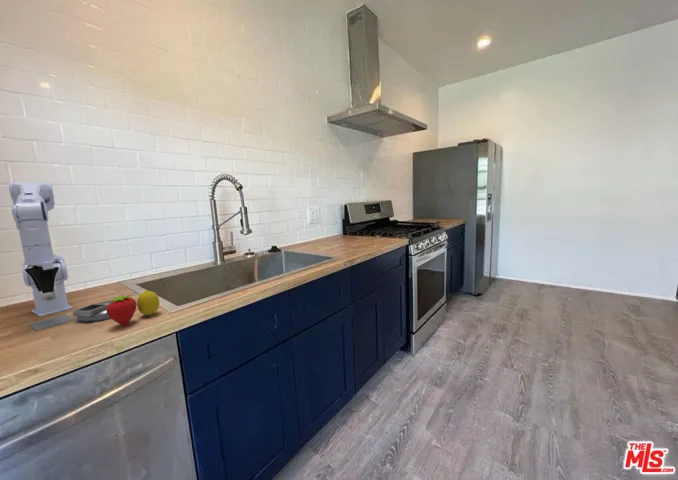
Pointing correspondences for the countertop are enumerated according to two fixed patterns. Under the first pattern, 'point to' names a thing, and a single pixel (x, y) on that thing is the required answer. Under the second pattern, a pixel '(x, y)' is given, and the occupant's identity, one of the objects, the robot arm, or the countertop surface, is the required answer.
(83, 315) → the grey rounded hollow piece
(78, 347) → the countertop surface
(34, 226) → the robot arm
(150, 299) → the lemon
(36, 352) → the countertop surface
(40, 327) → the mat
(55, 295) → the key
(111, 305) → the strawberry
